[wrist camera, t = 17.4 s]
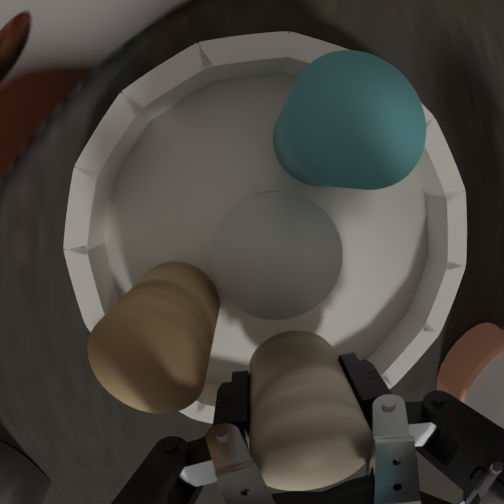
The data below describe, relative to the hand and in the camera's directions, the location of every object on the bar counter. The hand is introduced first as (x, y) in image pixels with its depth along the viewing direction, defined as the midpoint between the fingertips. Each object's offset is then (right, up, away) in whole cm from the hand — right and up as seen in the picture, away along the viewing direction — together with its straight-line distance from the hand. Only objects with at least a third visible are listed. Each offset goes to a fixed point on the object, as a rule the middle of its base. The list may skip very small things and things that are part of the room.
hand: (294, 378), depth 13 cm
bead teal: (+1, +11, 0) cm, 11 cm away
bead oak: (-6, +3, +2) cm, 7 cm away
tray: (-1, +6, +3) cm, 7 cm away
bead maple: (0, 0, +1) cm, 1 cm away
